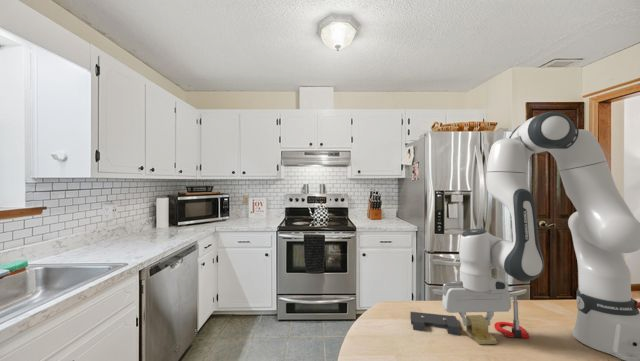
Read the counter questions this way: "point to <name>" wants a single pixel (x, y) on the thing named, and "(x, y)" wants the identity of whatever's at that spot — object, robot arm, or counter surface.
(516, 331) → the tow hook
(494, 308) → the robot arm
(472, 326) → the loose leaf
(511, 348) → the counter surface
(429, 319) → the fixed leaf
